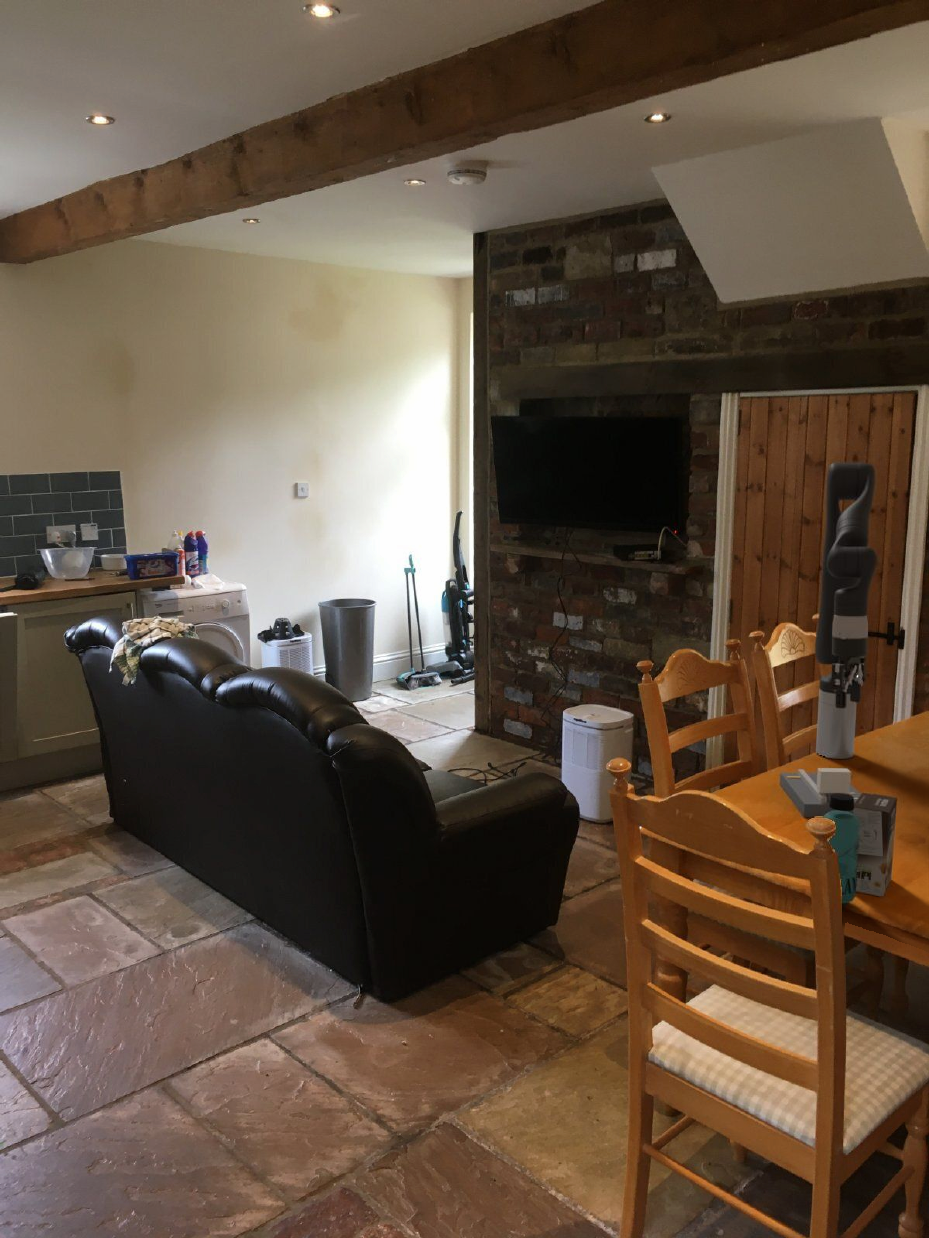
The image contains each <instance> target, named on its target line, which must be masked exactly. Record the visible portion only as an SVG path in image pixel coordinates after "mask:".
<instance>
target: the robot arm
mask: <svg viewBox="0 0 929 1238" xmlns="http://www.w3.org/2000/svg"><path fill="white" fill-rule="evenodd" d="M875 488H876V471H875V468H874V466H873V464H871V463H868V462H867V463H866V462H833V463H831V464H830V465H829V467H828V469H827V476H826V490H825V491H826V495H825V496H826V499H825V500H826V501H825V502H826V503H825V504H826V505H825V508H826V509H825V510H826V512H825V513H826V514H825V531H824V533H825V534H824V543H823V553H822V565H821V588H820V589H821V591H820V603H819V606H820V607H819V613H818V620H817V626H816V627H817V628H816V634H815V643H814V652H815V658H816V661H817V662H818V663H819V664H821V665H831V673H829V674H826V675H823V676H822V677H821V678H820V679H819V687H818V704H817V705H818V706H817V723H816V725H817V727H816V743H815V745H816V746H815V753H816V754H817V753H820V754H817V755H819V756H820V755H822V756H821V757H823V756H825V757H824V758H828V759H833V760H834V759H836V760H838V759H839V760H842V759H843V760H845V759H851V758H853V756H854V753H855V752H854V749H855V737H856V735H855V734H856V733H855V732H856V721H857V720H856V719H857V717H856V715H857V703H860V702H861V700H862V686H863V684H864V683H866V680H867V678H866V677H867V674H866V673H867V668H866V667H867V661H866V660H867V659H866V656H867V655H868V643H869V642H868V641H869V639H868V635H869V623H868V622H869V621H868V600H869V591H870V587H871V583H872V580H873V577H874V574H875V572H876V569H877V565H878V554H877V553H876V551H875V549H873V548H872V547H870V546H868V545H869V521H870V515H871V512H872V511H871V510H872V507H873V502H874V501H873V500H874V495H875ZM841 501H854V502H853V503H852V504H850V505H849V506H848V507H847V508H846V509H845V510H843V512H842V511H841V507H840V502H841ZM823 751H824V752H823Z"/></svg>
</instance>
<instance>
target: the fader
mask: <svg viewBox="0 0 929 1238" xmlns="http://www.w3.org/2000/svg"><path fill="white" fill-rule="evenodd" d="M816 773H817V790H818V791H819V792H820V793H824V795H825V796H826V797H827V800H828V801H830V796H831V794H834V793H850V784H851V778H852V771H850V770H849V769H848V768H838V767H836V768H834V767H833V768H832V767H831V768H830V767H823V768H822V767H818V768H817V772H816Z"/></svg>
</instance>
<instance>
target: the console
mask: <svg viewBox="0 0 929 1238" xmlns="http://www.w3.org/2000/svg"><path fill="white" fill-rule="evenodd" d="M779 775H780V776H779V786H780V787H781V788H782V790H783V791H784V792H785V794H786V795H787V796H788V798H789V800H791V802H792V803H793V805H794V806H795V807H796V808H797V810H798V812H799V813H800V814H801V815H802V817H803V818H816V817H815V816H824V815H825V814H827V813H828V812H830V811H834V810H835V809H832V808H830V807H829V802H830V801H828V800H827V797H826V796H825V795H824V793H820V792H819V791H818V790H817V772H806V771H805V770H804V769H800V768H799V769H797V772H780V774H779ZM845 794H849V795H851V796H853V797H854V804H855V802H856V801H857V799H858V798H859V797H860V795H861V794H862V793H860V792H859V791H858V790H857V789H856V788H855V787H854V785H852V784H851V783H850V793H845ZM847 812H850V813H852V814H853V810H851V811H847Z"/></svg>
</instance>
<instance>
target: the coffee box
mask: <svg viewBox="0 0 929 1238" xmlns="http://www.w3.org/2000/svg"><path fill="white" fill-rule="evenodd" d="M860 794H861V795H860V797H859V798H858V799H857V801H856V802H855V804H854V810H853V815H854V816H855V817H856V818H857V819H858V820H859V822H860V825H859V840H858V842H859V845H858V846H859V847H858V848H859V849H858V851H859V853H858V856H857V860H858V861H857V865H858V866H857V867H858V869H857V872H856V873H857V882H856V883H857V886H856V891H855V893H863V894H866V895H871V896H877V897H884V895H885V893H886V892H887V888H888V886H890V882H891V881H892V876H893V860H894V846H895V844H894V843H895V831H896V820H897V819H896V818H897V804H898V797H894V796H889V795H883V794H877V793H866V792H861V793H860Z"/></svg>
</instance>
